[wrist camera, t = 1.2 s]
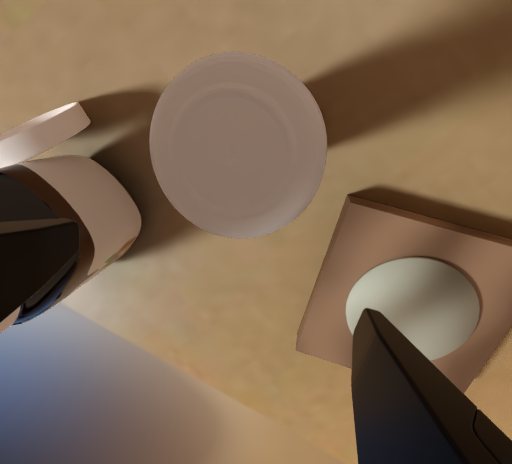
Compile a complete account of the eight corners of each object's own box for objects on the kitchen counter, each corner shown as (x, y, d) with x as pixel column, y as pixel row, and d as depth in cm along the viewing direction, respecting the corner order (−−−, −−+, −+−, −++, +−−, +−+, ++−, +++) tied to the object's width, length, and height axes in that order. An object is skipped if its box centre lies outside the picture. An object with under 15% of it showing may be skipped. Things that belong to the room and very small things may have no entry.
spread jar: (98, 280, 27) (-45, 387, 17) (-1, 181, 25) (-232, 230, 15) (186, 197, 23) (69, 272, 12) (73, 71, 21) (-180, 29, 10)
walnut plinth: (536, 245, 19) (562, 262, 17) (446, 380, 24) (458, 406, 22) (347, 194, 20) (350, 203, 18) (297, 332, 25) (295, 353, 23)
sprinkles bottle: (258, 84, 19) (143, 31, 7) (331, 96, 19) (353, 64, 6) (246, 158, 21) (139, 223, 8) (313, 171, 20) (302, 262, 8)
